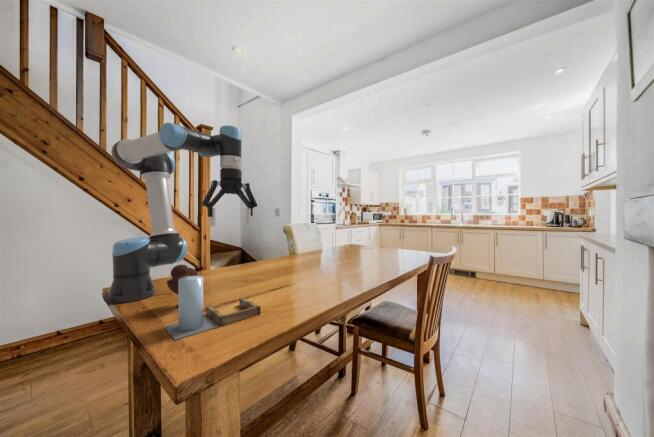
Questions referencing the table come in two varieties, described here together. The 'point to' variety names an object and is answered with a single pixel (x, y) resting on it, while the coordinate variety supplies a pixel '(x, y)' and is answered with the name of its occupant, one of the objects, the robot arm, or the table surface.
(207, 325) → the coaster
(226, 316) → the brown wooden u-shaped frame
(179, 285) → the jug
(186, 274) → the ice cream bowl
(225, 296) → the table surface
